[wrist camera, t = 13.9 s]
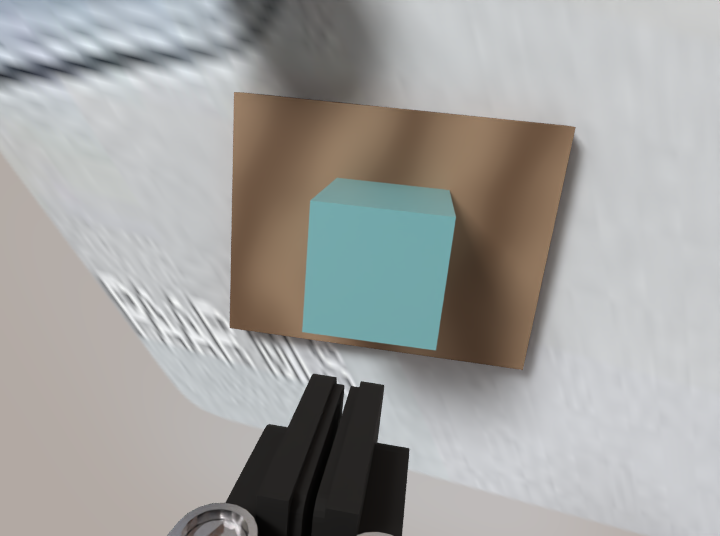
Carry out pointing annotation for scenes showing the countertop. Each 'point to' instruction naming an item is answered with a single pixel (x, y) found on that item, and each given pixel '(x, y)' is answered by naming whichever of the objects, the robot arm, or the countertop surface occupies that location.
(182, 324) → the countertop surface
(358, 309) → the aqua foam cube
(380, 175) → the walnut board
